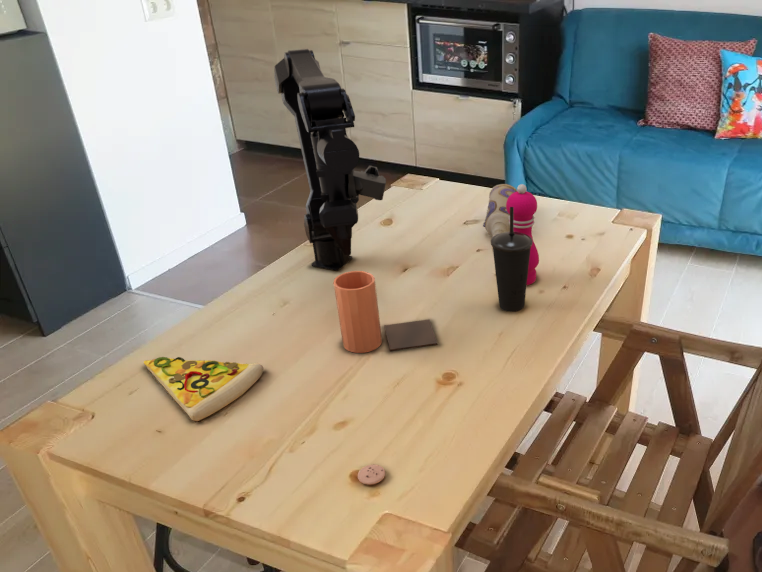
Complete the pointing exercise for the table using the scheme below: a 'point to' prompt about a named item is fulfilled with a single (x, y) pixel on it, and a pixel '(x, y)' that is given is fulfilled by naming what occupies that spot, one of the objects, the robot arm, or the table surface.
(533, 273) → the pepper mill
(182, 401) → the pizza slice
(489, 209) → the decorative bottle
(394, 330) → the walnut coaster
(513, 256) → the drinking cup
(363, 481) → the cookie
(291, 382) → the table surface
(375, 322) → the peach cup
